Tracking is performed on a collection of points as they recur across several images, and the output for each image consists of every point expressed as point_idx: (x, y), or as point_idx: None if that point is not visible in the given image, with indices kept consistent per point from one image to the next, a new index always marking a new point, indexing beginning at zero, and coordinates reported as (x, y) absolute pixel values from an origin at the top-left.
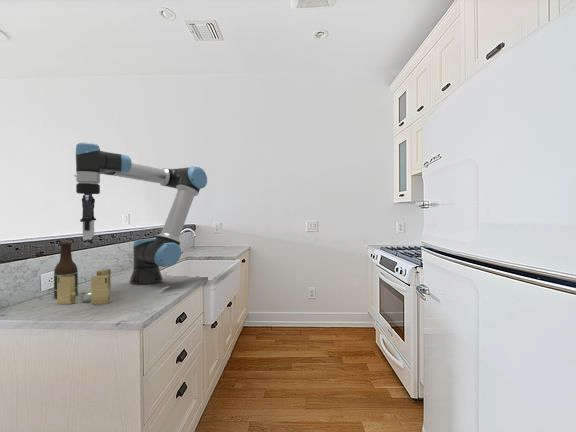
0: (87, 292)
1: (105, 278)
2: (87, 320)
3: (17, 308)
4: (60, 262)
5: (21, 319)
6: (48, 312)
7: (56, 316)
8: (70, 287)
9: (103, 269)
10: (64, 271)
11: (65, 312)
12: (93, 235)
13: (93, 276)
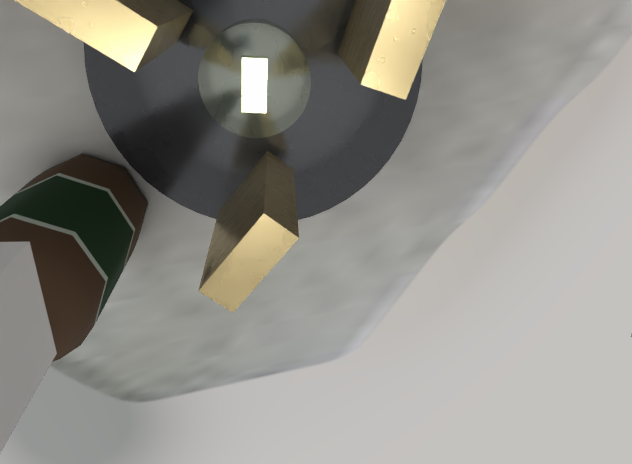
0: (267, 101)
1: None
2: (575, 65)
3: (184, 359)
4: None
5: (373, 310)
6: (325, 240)
7: (414, 199)
8: (294, 205)
9: (47, 14)
10: (96, 298)
11: None
12: (23, 262)
13: (379, 85)
